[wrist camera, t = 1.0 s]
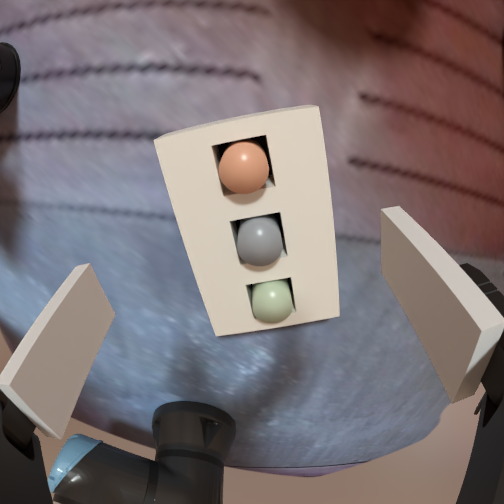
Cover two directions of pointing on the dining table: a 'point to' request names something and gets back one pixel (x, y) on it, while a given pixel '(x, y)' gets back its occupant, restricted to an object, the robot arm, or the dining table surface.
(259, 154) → the terracotta button
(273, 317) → the sage button
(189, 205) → the button panel
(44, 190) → the dining table surface
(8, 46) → the french press
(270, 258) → the grey button
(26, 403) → the robot arm
